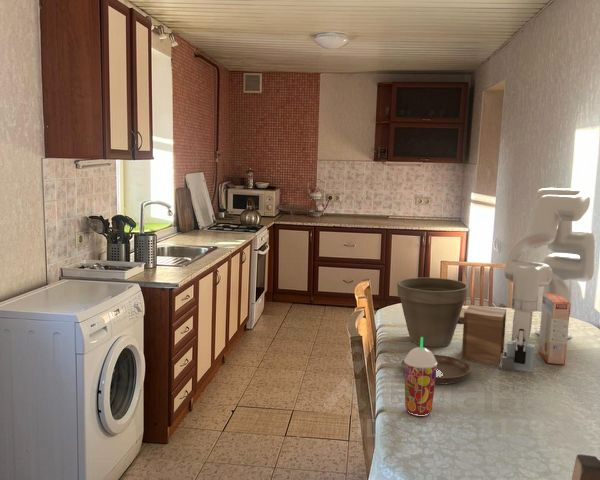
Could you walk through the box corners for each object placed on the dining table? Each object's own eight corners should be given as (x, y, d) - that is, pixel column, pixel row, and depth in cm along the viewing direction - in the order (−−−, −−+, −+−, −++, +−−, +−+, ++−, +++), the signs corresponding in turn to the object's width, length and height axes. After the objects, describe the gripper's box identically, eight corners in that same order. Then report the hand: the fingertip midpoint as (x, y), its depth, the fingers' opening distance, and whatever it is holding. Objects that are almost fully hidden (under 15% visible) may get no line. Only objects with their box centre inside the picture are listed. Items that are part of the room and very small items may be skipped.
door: (506, 365, 183) (508, 341, 182) (533, 369, 179) (535, 345, 178) (505, 368, 180) (507, 343, 179) (532, 372, 177) (534, 347, 176)
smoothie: (398, 405, 149) (401, 332, 147) (428, 405, 150) (432, 332, 147) (406, 419, 141) (410, 342, 138) (439, 419, 142) (443, 342, 139)
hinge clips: (501, 361, 186) (502, 350, 185) (515, 363, 184) (516, 352, 183) (498, 369, 178) (499, 357, 178) (513, 371, 177) (514, 359, 176)
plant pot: (388, 346, 200) (390, 286, 197) (402, 328, 223) (404, 274, 220) (460, 356, 191) (464, 293, 188) (468, 336, 213) (471, 280, 211)
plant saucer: (394, 381, 167) (395, 370, 167) (407, 359, 186) (408, 350, 186) (466, 392, 160) (467, 381, 159) (472, 369, 179) (473, 359, 179)
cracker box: (566, 365, 183) (571, 302, 181) (546, 363, 185) (551, 301, 182) (555, 352, 197) (560, 293, 194) (537, 350, 198) (542, 292, 196)
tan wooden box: (467, 349, 198) (469, 304, 196) (503, 354, 193) (506, 309, 191) (461, 359, 187) (464, 312, 185) (499, 365, 182) (502, 317, 180)
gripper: (513, 297, 186) (510, 351, 188) (509, 308, 171) (505, 366, 173) (538, 300, 183) (534, 354, 185) (535, 312, 168) (531, 370, 170)
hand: (520, 359), depth 179 cm, fingers open, 4 cm apart
